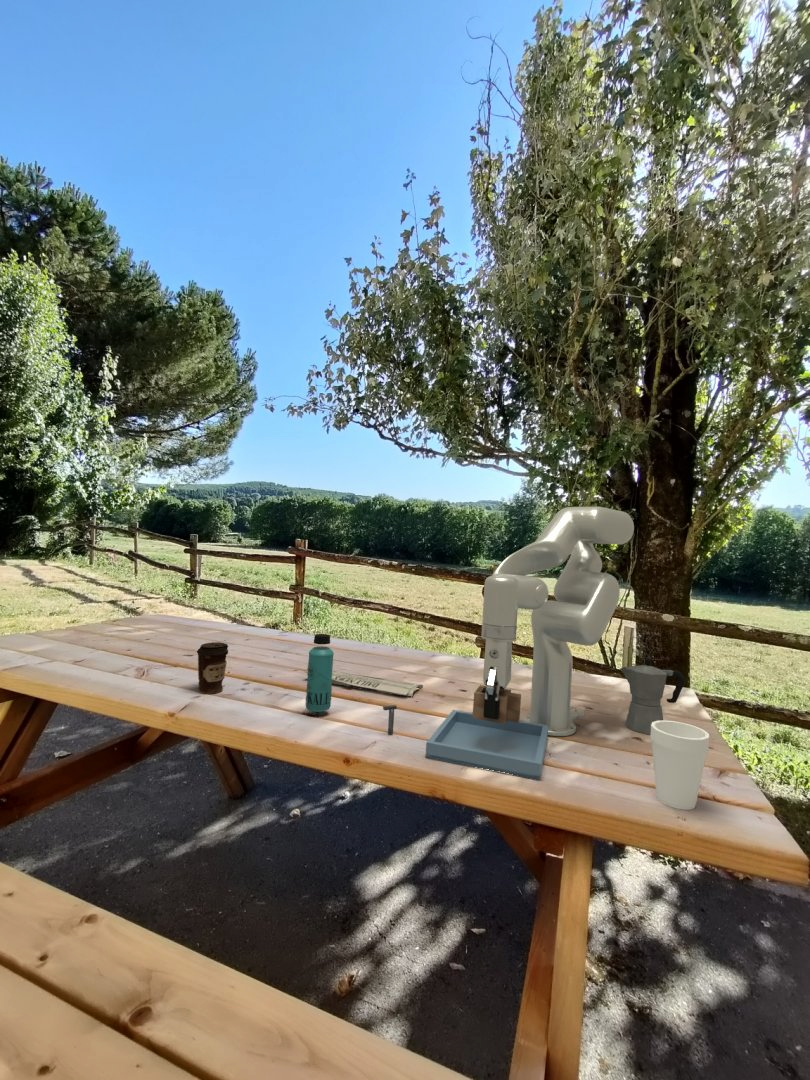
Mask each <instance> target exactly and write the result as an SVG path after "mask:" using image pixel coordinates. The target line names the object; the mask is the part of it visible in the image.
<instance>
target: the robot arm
mask: <svg viewBox="0 0 810 1080" xmlns="http://www.w3.org/2000/svg"><path fill="white" fill-rule="evenodd" d="M634 531H635V525H634V521H633V518H632V517H631V515H630V514H629V513H627V512H626V511H622V510H616V509H613V508H608V507H603V506H569V507H568V506H566V507H564V508H562V509H560V510H558V511H557V512H556V513H555V515H554V516H553V517H552V519H551V520H550V522H548V524H547V526H546V527H545V528H544V530H543V531H542V532H541V533H540V534H539V536H538V538H537V539H536V540H535V541H534V542H531V543H530V544H528V545H525V546H523V547H522V548H521V549H518V550H517V551H515V552H513V553H511V554H510V555H508V556H507V557H506V558H505V559H503V561H501V562H500V564H499V565H498V566H497V567H496V569H495V570H494V571H493V573H492V574H491V575H490V576H488V577H486V579H485V580H484V588H483V591H484V592H483V605H482V623H481V636H480V637H481V639H483V640H485V646H484V647H485V649H484V660H483V661H484V662H483V681H482V682H483V685H484V686H486V694H485V700H484V717H485V718H490V719H496V720H497V719H498V718H499V708H500V700H499V692H500V688H502V689H507V687H508V686H509V684H510V682H511V680H512V660H513V659H512V656H513V647H512V646H513V645H512V644H513V643H514V642H516V641H517V631H518V630H517V626H518V611H519V609H522V610H528V611H529V610H530V611H531V616H530V619H531V620H530V623H531V629H532V630H531V631H532V639H533V652H532V653H533V659H532V673H531V675H532V677H531V692H530V693H531V694H530V708H529V711H530V712H529V714H528V715H526V716H525V717H524V718H523V721H524V722H530V723H536V724H543V725H548V736H552V737H566V736H567V737H568V736H571V735H574V734H575V732H576V730H577V729H576V728H577V727H576V725H575V723H574V722H573V721H574V720H575V719H582V718H584V717H585V713H584V711H583V710H582V709H578V710H573V709H572V708H571V697H572V680H573V677H572V676H573V655H572V651H571V649H570V647H569V645H568V643H570V644H575V645H580V646H586V647H587V646H590V647H592V646H595V645H596V644H598V643H599V641H600V640H601V639H602V637H603V634H604V633H605V631H606V629H607V627H608V625H609V623H610V621H611V619H612V617H613V614H614V613H615V611H616V608H617V605H618V603H619V601H620V594H621V593H620V591H621V590H620V589H621V588H620V585H619V581H618V580H617V578H616V577H615V576H613V575H612V574H610V573H606V572H602V569H603V561H602V558H601V556H600V554H599V553H598V552H597V550H596V549H595V546H594V544H599V545H602V544H603V545H625V544H626V543H628V542H629V541H630V540H631V539H632V538H633V536H634ZM569 556H570V557H569ZM567 559H568V561H567ZM566 561H567V563H566V565H565V566H564V568H563V569H562V571H561V573H560V575H559V577H558V579H557V581H556V583H555V584H554V587H553V596H554V599H555V600H551V599H550V600H548V598H549V589H548V586H547V584H546V582H544V580H542V579H540V578H538V577H535V576H531V575H530V574H534V573H538V572H543V571H546V570H550V569H555V568H557V567H559V566H561V565H564V563H565V562H566ZM529 575H530V576H529ZM512 642H513V643H512ZM494 689H497V690H496V691H495V690H494Z"/></svg>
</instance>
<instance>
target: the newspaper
mask: <svg viewBox="0 0 810 1080" xmlns="http://www.w3.org/2000/svg"><path fill="white" fill-rule="evenodd" d="M303 672H304V673H306V674H308V671H305V670H304V671H303ZM332 683H333V684H332V685H335V684H338V685H337V686H341V685H344V686H343V687H348V686H349V688H353V687H355V689H359V688H361V690H365V689H367V690H366V691H371V690H373V692H378V691H380V693H384V692H385V694H390V693H392V694H391V695H396V694H401V695H400V696H402V695H405V696H404V697H408V696H411V697H410V698H413V697H412V696H413V695H414V692H415V691H414V689H415V688H419V689H420V690H422V689H421V688H424V685H423V684H420V683H419V684H418V683H413V682H406V681H401V680H394V679H386V678H382V677H381V678H379V677H373V676H365V675H361V674H354V673H348V672H344V671H343V672H342V671H336V670H332Z"/></svg>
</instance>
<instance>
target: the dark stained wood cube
mask: <svg viewBox="0 0 810 1080" xmlns="http://www.w3.org/2000/svg"><path fill="white" fill-rule="evenodd" d="M494 690H495V691H496V690H497V689H494ZM485 694H486V685H484V684H483V685H481V684H480V685H479V686H477V689H476V690H475V691H474V693H473V701H472V702H473V704H472V713H473V717H472V718H474V719H480V720H485V721H491V722H496V723H502V724H505V723H506V721H511V722H516V723H518V722H519V721H520V718H521V703H522V701H521V700H522V694H521V693H515V692H512V690H511V689H508V688H505V689H502V688H500V692H499V700H500V708H499V718H498V719H497V720H496V719H490V718H485V717H484V700H485Z"/></svg>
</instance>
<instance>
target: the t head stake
mask: <svg viewBox="0 0 810 1080" xmlns="http://www.w3.org/2000/svg"><path fill="white" fill-rule="evenodd" d="M382 710H384V711H388V721H387V722H388V723H387V725H388V727H387V735H388V736H393V735H394V724H395V723H394V721H395V719H394V718H395V710H397V705H396V704H393V705H392V704H391V705H384V706H382Z"/></svg>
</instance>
